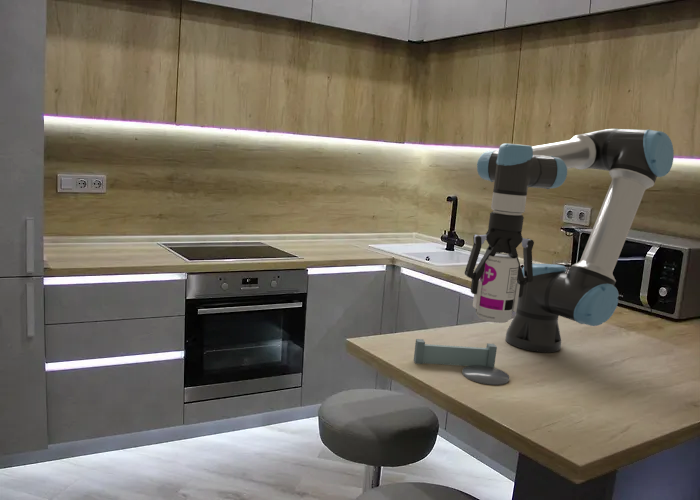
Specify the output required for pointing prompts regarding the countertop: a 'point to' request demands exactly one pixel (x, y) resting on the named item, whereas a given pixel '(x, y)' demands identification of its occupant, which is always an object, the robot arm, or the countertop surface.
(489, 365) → the handle
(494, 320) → the supplement can
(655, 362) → the countertop surface
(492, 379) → the coaster
